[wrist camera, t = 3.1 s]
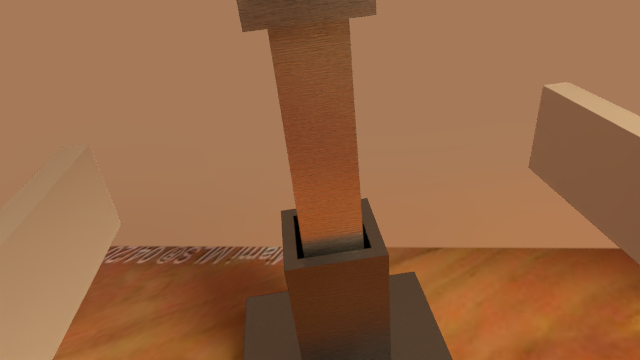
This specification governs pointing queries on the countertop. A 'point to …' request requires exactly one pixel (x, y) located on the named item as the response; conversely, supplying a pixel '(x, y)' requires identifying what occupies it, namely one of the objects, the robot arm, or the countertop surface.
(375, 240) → the stand
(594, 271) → the countertop surface
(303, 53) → the column
